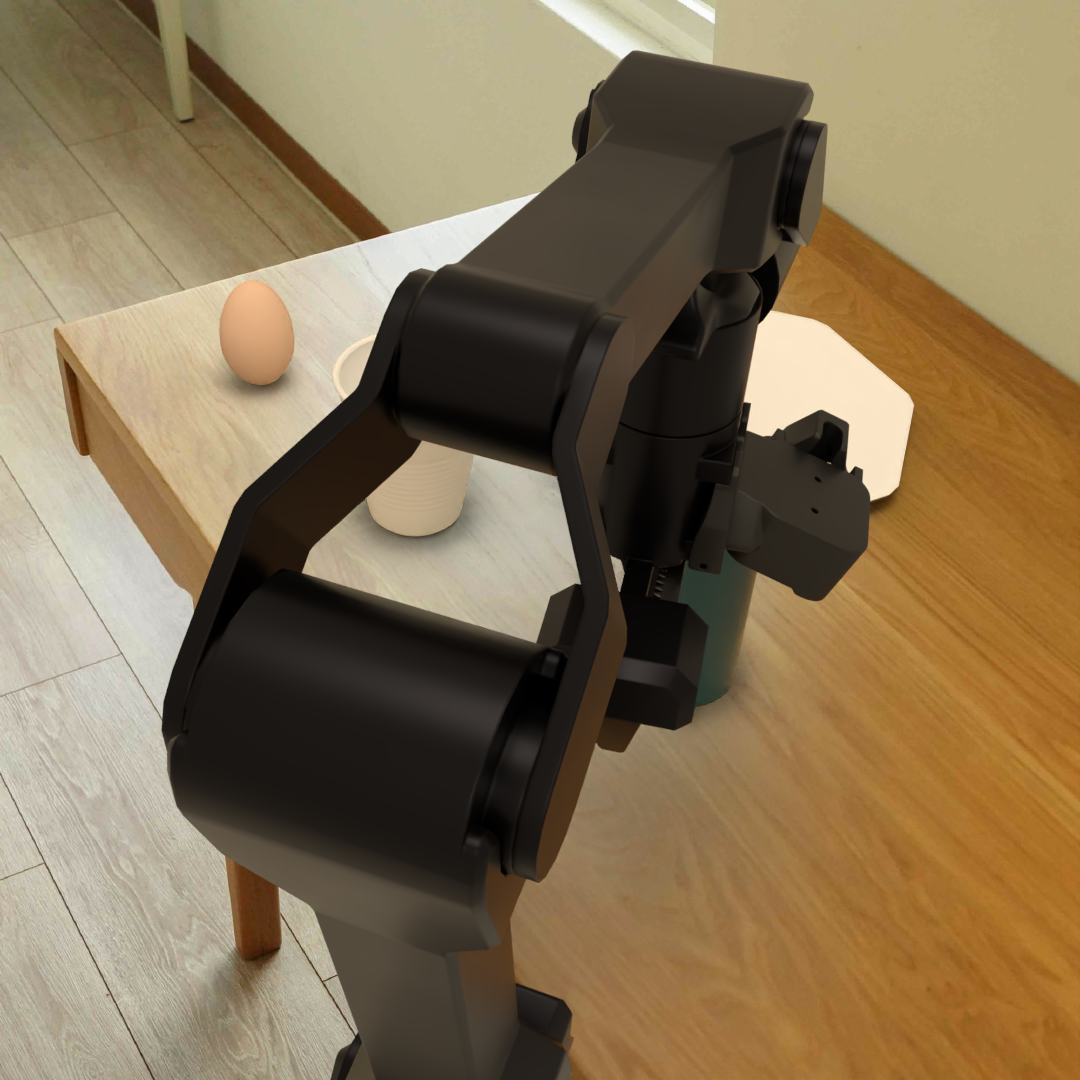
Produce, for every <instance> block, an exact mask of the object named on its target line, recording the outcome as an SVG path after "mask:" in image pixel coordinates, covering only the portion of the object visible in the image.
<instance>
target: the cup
mask: <svg viewBox="0 0 1080 1080" xmlns="http://www.w3.org/2000/svg"><path fill="white" fill-rule="evenodd" d="M377 333H378V332H376V333H373V334H371V335H368V336H365V337H363V338H361V339H359V340H357V341H356V342H353V343H352V344H350V345H349V346H348V347H347V348H346V349H344V350H343V351H342V352H341V353H340V354H339V356H338V357H337V358H336V360H335V362H334V365H333V368H332V374H331V381H332V384H333V388H334V390H335V393H337V394H338V396H339V398H340V401H341V402H343V401H344V400H345V399H346V398H347V397H348V396H349V395H350V394H351V393H353V392H354V391H355V389H356V388H357V386H358V385H359V382H360V380H361V377H362V374H363V371H364V369H365V366H366V363H367V360H368V358H369V355H370V352H371V349H372V347H373V344H374V341H375V338H376V336H377ZM341 402H340V403H341ZM474 458H475V455H474V454H471V453H467V452H463V451H459V450H456V449H452V448H448V447H445V446H441V445H437V444H433V443H430V442H426V441H421V443H420V445H419V446H418V448H417V449H416V451H415V452H414V454H413V455H412V457H411V458H410V459H409V460H407V461H406V462H405V463H404V464H403V465H402V466H401V467H400V468H399V469H398V470H396V471H395V472H394V473H393V474H392V475H391V476H390V477H389V478H388V479H387V480H386V481H384V482H383V483H382V484H381V485H380V486H379V487H378V488H377V489H376V490H375V491H373V492H372V493H371V494H370V495H369V496H368V497H367V498H366V499H365V500H366V502H367V507H368V509H369V513H370V516H371V517H372V518H373V520H374V521H375V522H376V523H377V524H378V525H379V526H380V527H382V528H384V529H385V530H388V531H390V532H392V533H394V534H397V535H401V536H407V537H425V536H430V535H433V534H437V533H439V532H441V531H443V530H445V529H447V528H448V527H450V526H452V525H453V524H454V523H455V522H456V521H457V520H458V519H459V517H460V516H461V514H462V510H463V505H464V503H465V498H466V493H467V489H468V484H469V481H470V474H471V470H472V466H473V462H474Z"/></svg>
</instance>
